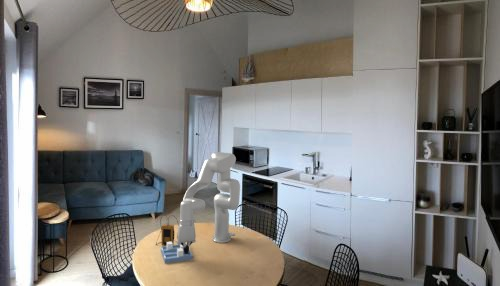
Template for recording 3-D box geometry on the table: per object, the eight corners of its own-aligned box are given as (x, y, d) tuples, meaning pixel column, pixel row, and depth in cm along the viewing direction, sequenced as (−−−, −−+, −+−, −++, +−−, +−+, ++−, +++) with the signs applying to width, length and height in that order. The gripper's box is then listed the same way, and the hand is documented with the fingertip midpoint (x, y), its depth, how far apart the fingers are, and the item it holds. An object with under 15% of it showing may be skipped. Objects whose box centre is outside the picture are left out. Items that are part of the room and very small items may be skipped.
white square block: (182, 254, 191) (182, 248, 191) (183, 257, 188) (183, 250, 187) (176, 255, 190) (177, 248, 190) (178, 258, 186) (178, 251, 186)
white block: (171, 247, 201) (171, 241, 200) (172, 250, 197) (172, 243, 197) (166, 248, 200) (166, 242, 199) (167, 250, 196) (167, 244, 196)
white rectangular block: (184, 249, 198) (184, 243, 198) (186, 252, 194) (186, 246, 194) (179, 250, 197) (180, 244, 196) (181, 253, 193) (181, 246, 193)
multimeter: (182, 240, 216) (183, 211, 215) (177, 246, 206) (178, 216, 205) (161, 239, 218) (161, 210, 216) (155, 245, 208) (155, 214, 206)
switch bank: (186, 247, 205) (186, 243, 205) (192, 259, 189) (192, 255, 189) (160, 250, 199) (160, 246, 199) (164, 263, 183) (164, 259, 182)
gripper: (197, 219, 195) (197, 248, 196) (172, 221, 189) (172, 252, 191) (200, 223, 188) (200, 253, 189) (174, 225, 182) (174, 257, 184)
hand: (186, 252), depth 190 cm, fingers closed
